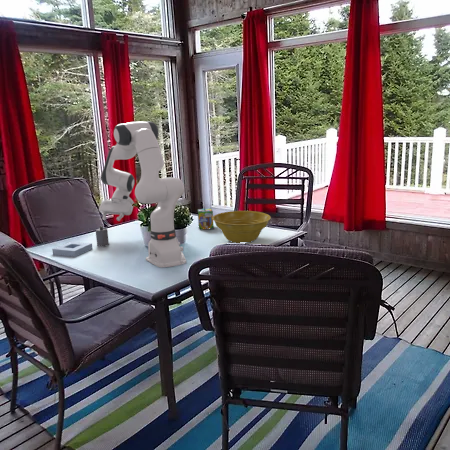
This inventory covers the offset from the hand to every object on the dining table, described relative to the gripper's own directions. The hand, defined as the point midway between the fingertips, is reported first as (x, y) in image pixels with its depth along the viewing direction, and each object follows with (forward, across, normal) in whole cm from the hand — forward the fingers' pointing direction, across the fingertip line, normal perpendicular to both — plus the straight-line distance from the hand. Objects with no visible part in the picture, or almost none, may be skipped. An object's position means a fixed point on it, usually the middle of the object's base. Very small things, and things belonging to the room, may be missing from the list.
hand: (110, 219), depth 234 cm
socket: (+25, -8, -8) cm, 28 cm away
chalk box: (-20, +40, +38) cm, 59 cm away
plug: (+15, 0, +2) cm, 15 cm away
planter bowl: (-6, +71, +24) cm, 75 cm away
